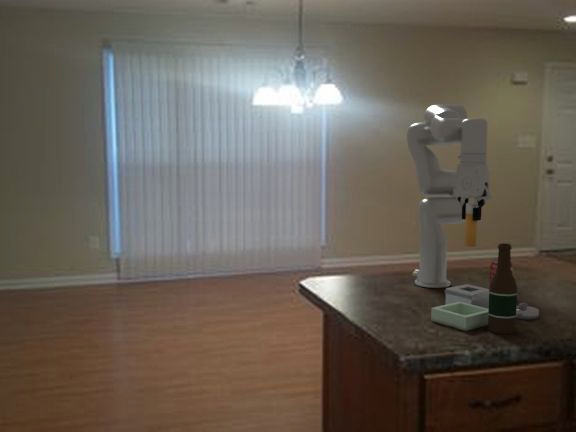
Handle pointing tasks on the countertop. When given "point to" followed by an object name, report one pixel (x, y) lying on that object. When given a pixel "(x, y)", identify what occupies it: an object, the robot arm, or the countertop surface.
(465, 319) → the tray
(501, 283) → the beer bottle
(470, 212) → the pin
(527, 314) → the metal pot lid
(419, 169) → the robot arm
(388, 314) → the countertop surface
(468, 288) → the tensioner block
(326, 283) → the countertop surface
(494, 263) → the soda can
